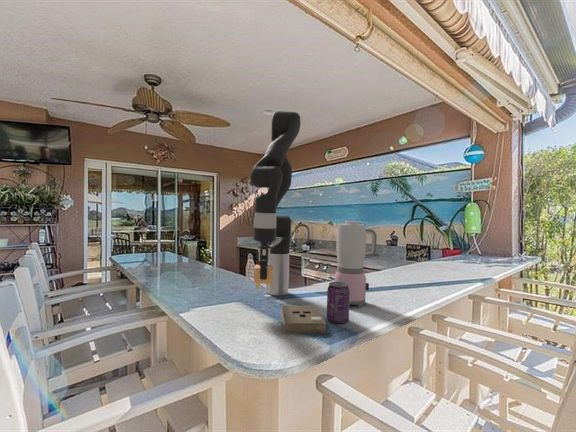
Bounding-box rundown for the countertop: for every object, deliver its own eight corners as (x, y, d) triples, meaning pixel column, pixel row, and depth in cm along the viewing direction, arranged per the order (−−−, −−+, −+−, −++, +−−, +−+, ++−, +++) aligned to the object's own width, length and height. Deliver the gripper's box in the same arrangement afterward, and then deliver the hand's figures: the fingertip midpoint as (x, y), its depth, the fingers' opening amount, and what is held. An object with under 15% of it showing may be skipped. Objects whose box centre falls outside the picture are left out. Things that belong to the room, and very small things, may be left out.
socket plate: (281, 314, 101) (281, 303, 101) (316, 314, 102) (316, 304, 102) (284, 333, 86) (284, 321, 85) (325, 333, 86) (326, 321, 86)
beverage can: (333, 315, 102) (334, 280, 102) (352, 320, 98) (353, 283, 98) (322, 320, 97) (323, 283, 97) (341, 326, 92) (342, 287, 92)
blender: (332, 306, 112) (334, 220, 112) (333, 297, 124) (336, 220, 124) (375, 310, 109) (378, 222, 109) (373, 300, 121) (375, 221, 121)
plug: (272, 286, 103) (272, 265, 103) (272, 291, 98) (273, 268, 97) (254, 286, 103) (255, 264, 102) (253, 291, 97) (254, 268, 97)
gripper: (277, 228, 93) (275, 282, 93) (275, 225, 107) (274, 272, 107) (252, 227, 92) (251, 282, 93) (254, 224, 106) (253, 272, 107)
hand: (263, 276), depth 100 cm, fingers closed on plug, 5 cm apart
